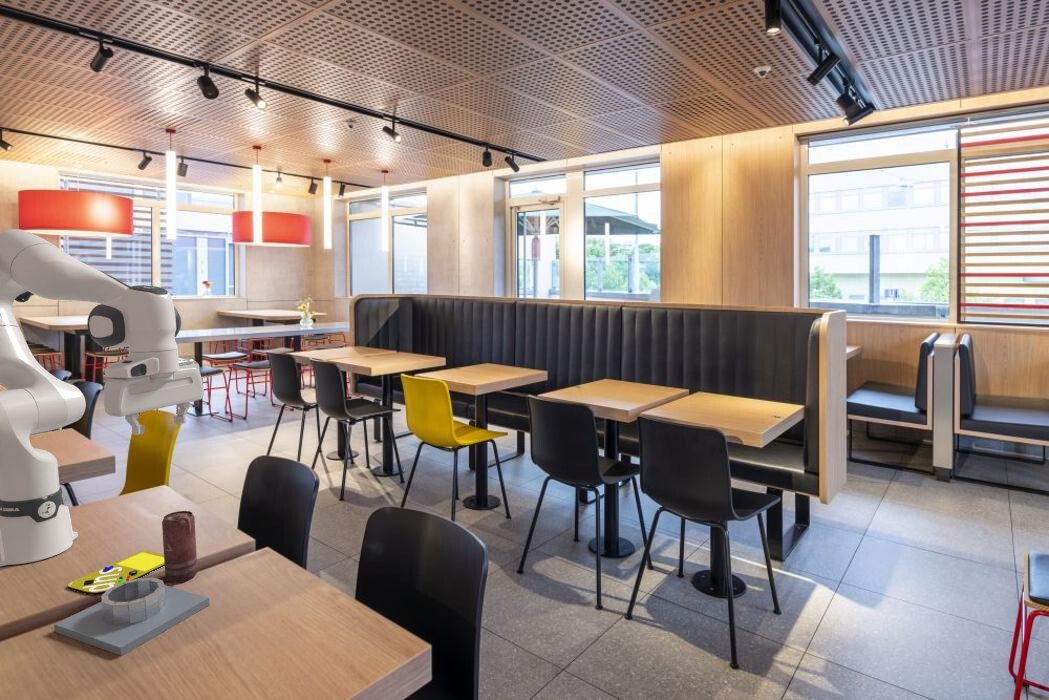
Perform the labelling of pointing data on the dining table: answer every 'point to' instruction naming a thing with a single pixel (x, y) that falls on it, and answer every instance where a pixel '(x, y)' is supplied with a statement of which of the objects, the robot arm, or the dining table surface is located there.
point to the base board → (128, 637)
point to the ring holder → (133, 601)
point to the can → (179, 546)
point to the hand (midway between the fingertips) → (160, 428)
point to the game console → (118, 573)
